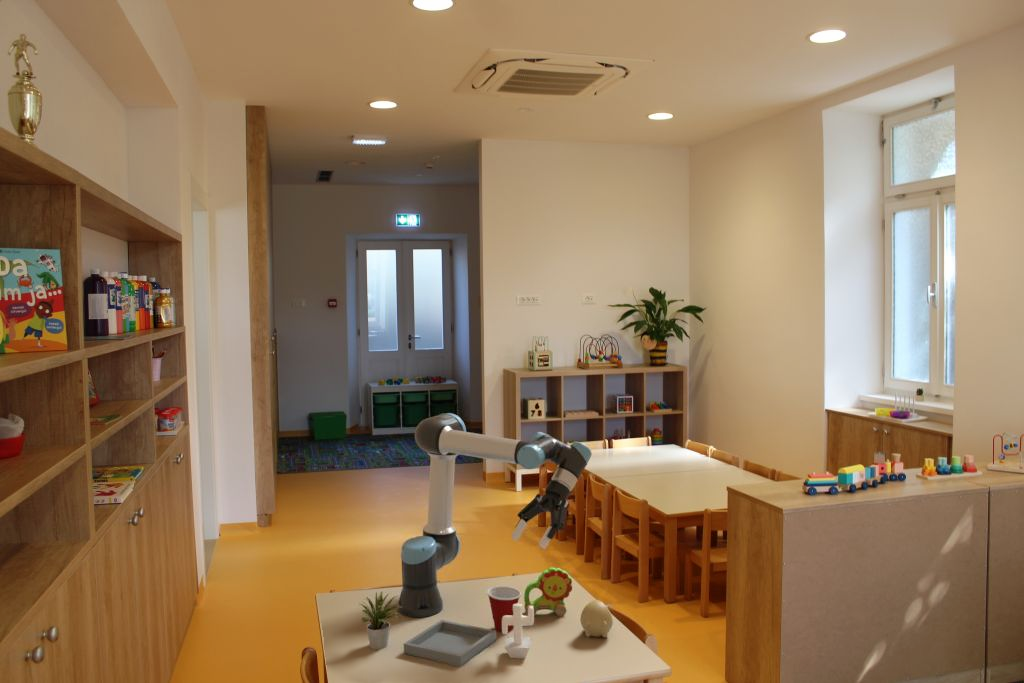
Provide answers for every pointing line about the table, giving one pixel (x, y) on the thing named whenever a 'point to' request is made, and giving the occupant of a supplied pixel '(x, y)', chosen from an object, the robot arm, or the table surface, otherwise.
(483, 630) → the tray
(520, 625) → the figurine
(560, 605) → the toy lion
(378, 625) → the house plant
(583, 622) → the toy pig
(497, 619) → the plastic cup
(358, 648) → the table surface
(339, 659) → the table surface
